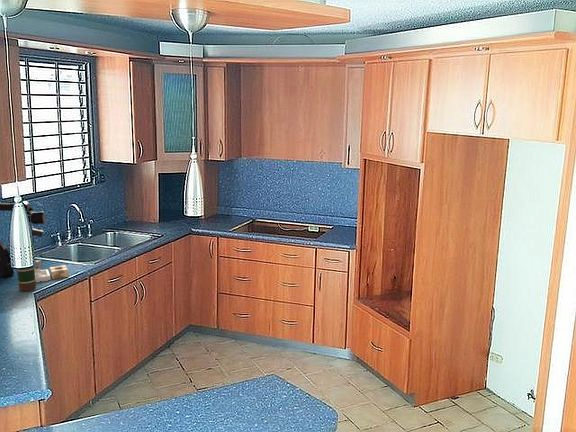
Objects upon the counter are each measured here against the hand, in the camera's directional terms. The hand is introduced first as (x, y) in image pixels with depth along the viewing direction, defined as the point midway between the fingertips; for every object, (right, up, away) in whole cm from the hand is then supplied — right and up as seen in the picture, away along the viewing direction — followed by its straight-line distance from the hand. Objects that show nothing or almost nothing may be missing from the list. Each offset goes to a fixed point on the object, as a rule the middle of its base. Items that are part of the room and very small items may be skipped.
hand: (28, 253), depth 311 cm
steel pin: (+8, -13, -6) cm, 16 cm away
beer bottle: (+11, -17, -24) cm, 31 cm away
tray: (+8, -13, -6) cm, 16 cm away
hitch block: (+17, -12, -1) cm, 21 cm away
